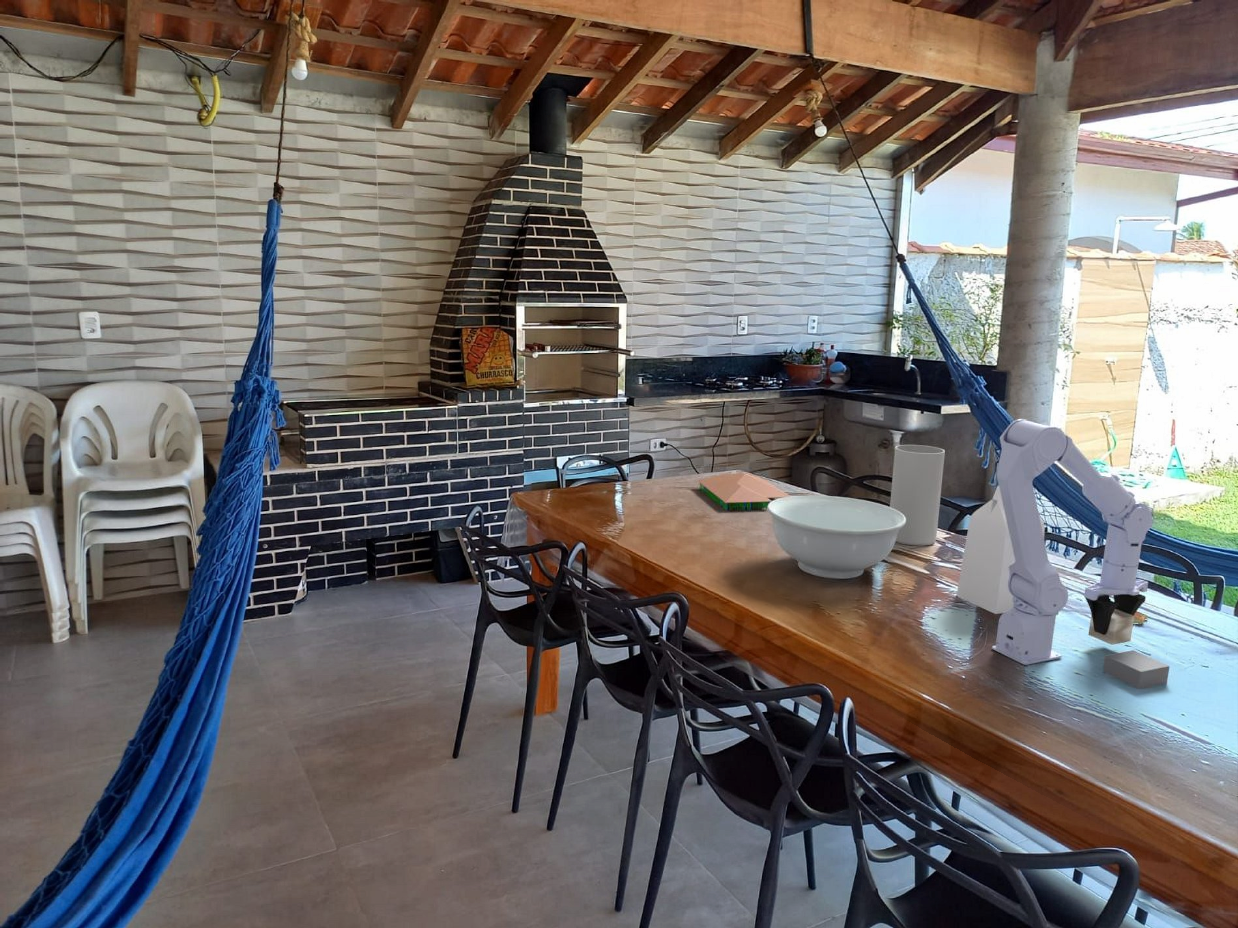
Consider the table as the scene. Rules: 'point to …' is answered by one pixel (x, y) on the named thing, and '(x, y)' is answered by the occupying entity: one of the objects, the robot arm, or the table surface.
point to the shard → (1139, 617)
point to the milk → (988, 558)
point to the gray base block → (1136, 669)
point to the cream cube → (1115, 628)
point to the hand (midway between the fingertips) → (1110, 630)
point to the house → (740, 489)
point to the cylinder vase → (917, 492)
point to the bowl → (834, 533)
